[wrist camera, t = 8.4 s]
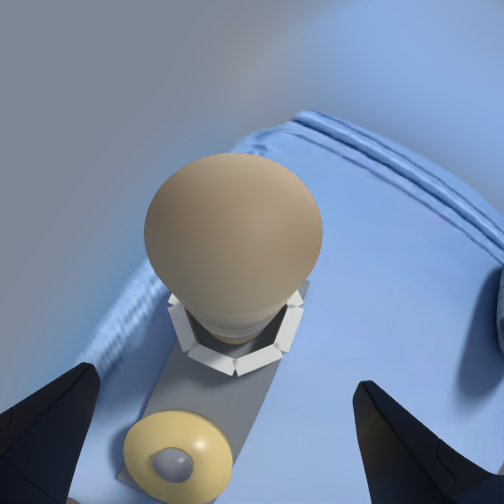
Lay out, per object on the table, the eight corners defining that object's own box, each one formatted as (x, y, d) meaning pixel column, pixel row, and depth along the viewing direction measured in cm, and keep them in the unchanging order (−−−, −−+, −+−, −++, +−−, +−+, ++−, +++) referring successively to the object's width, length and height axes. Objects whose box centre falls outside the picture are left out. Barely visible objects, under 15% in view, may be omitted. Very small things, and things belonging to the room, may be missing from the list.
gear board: (205, 514, 13) (199, 537, 10) (110, 468, 14) (89, 482, 11) (307, 284, 21) (319, 269, 17) (208, 246, 22) (202, 224, 18)
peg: (263, 348, 18) (319, 323, 6) (198, 339, 18) (125, 296, 6) (270, 285, 20) (321, 164, 8) (207, 277, 20) (169, 147, 8)
